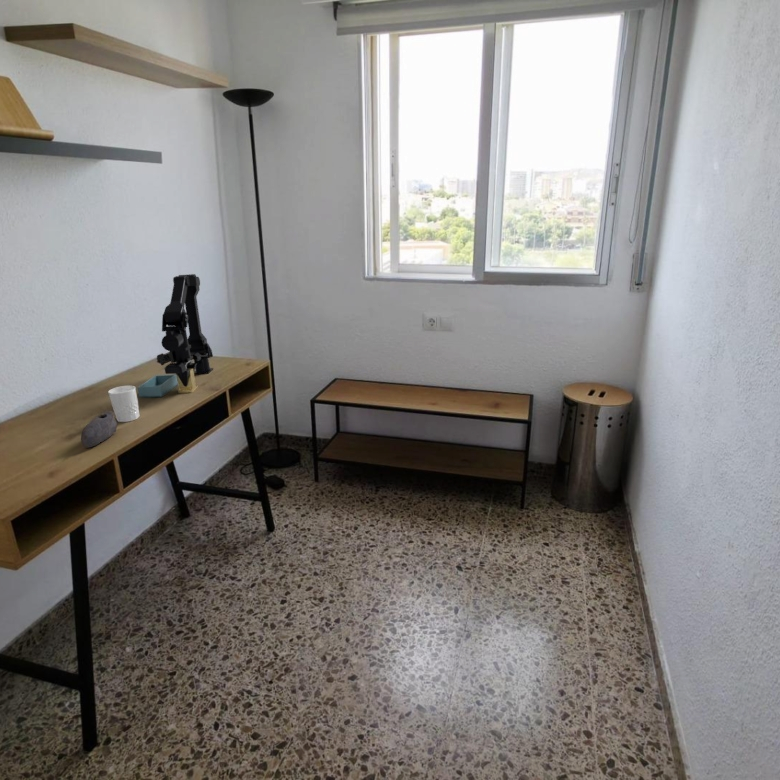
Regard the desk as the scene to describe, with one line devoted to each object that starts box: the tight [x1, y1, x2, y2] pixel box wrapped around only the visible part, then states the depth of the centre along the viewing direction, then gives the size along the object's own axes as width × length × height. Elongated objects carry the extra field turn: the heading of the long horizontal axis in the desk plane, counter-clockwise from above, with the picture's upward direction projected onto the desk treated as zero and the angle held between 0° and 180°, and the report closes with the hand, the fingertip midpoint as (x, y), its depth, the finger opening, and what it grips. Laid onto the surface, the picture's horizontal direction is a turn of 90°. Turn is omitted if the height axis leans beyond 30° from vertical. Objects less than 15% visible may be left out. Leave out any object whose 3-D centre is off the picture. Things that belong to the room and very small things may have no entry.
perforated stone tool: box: [80, 410, 118, 448], centre depth 154 cm, size 15×5×7 cm, turn 174°
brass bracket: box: [176, 368, 199, 394], centre depth 195 cm, size 6×5×8 cm
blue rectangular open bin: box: [137, 374, 179, 399], centre depth 196 cm, size 14×8×4 cm, turn 178°
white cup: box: [107, 385, 140, 423], centre depth 169 cm, size 8×8×10 cm
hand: (187, 384), depth 195 cm, fingers closed on brass bracket, 3 cm apart
